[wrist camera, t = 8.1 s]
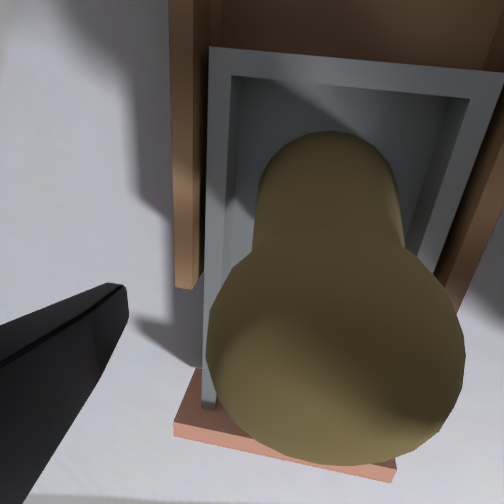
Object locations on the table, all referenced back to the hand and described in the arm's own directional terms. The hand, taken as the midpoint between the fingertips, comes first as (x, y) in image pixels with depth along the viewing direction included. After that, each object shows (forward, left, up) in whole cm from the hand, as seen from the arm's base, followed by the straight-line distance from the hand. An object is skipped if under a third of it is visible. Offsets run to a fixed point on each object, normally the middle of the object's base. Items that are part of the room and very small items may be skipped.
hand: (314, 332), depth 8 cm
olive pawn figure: (0, 0, -9) cm, 9 cm away
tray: (-4, 0, -10) cm, 11 cm away
